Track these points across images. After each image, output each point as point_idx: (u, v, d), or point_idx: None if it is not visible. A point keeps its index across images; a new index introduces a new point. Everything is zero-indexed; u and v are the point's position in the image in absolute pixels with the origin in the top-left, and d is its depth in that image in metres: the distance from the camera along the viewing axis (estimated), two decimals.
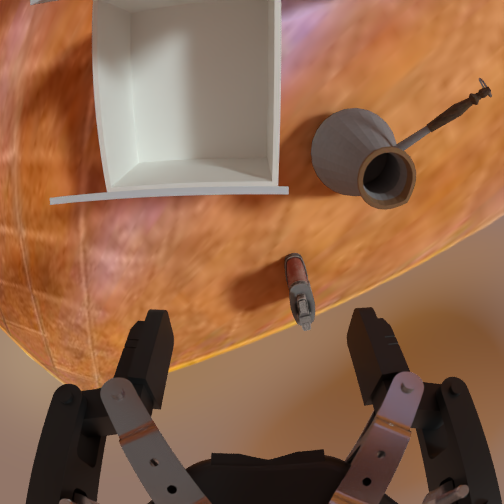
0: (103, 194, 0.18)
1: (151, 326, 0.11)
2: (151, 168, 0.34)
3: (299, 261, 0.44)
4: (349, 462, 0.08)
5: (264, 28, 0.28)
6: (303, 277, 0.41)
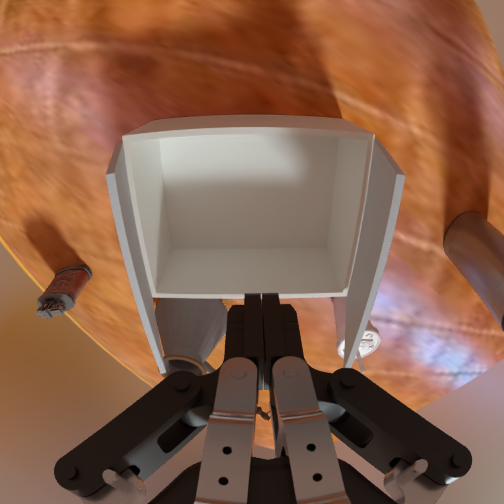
0: (127, 250, 0.17)
1: (253, 308, 0.12)
2: (151, 154, 0.30)
3: (86, 281, 0.42)
4: None
5: (297, 245, 0.40)
6: None
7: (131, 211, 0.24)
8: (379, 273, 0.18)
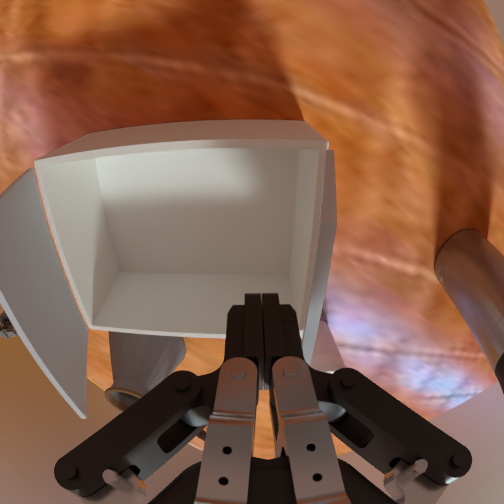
0: (7, 306, 0.12)
1: (253, 308, 0.12)
2: (81, 174, 0.25)
3: None
4: None
5: (255, 271, 0.35)
6: None
7: (42, 246, 0.19)
8: (306, 355, 0.13)
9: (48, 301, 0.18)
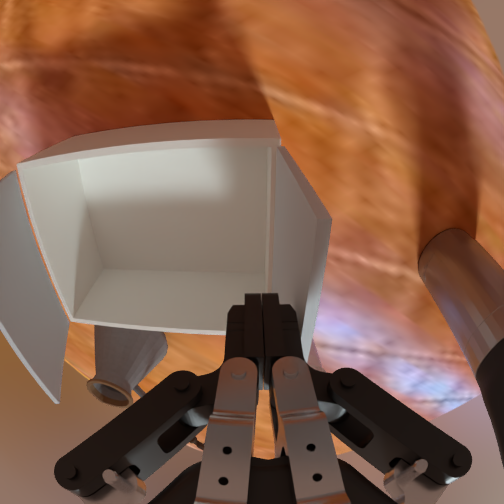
0: None
1: (253, 308, 0.12)
2: (63, 175, 0.26)
3: None
4: None
5: (231, 269, 0.36)
6: None
7: (23, 242, 0.20)
8: (304, 352, 0.13)
9: (26, 292, 0.19)
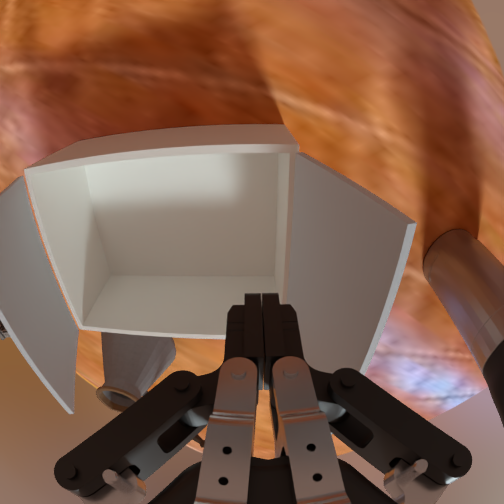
0: None
1: (253, 308, 0.12)
2: (70, 181, 0.26)
3: None
4: None
5: (240, 273, 0.36)
6: None
7: (32, 250, 0.20)
8: (374, 344, 0.13)
9: (37, 301, 0.19)
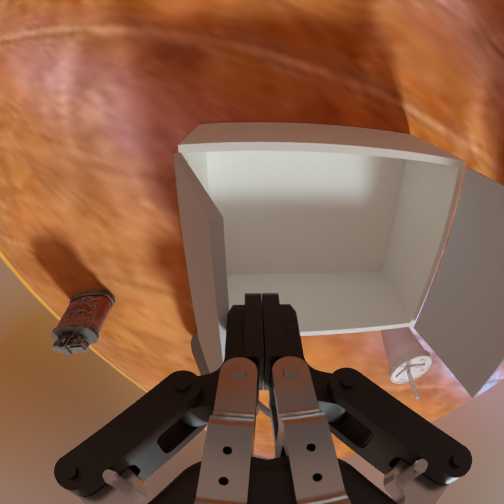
0: (226, 323, 0.13)
1: (253, 308, 0.12)
2: (202, 167, 0.26)
3: (109, 309, 0.37)
4: None
5: (353, 269, 0.36)
6: (100, 329, 0.34)
7: None
8: None
9: None
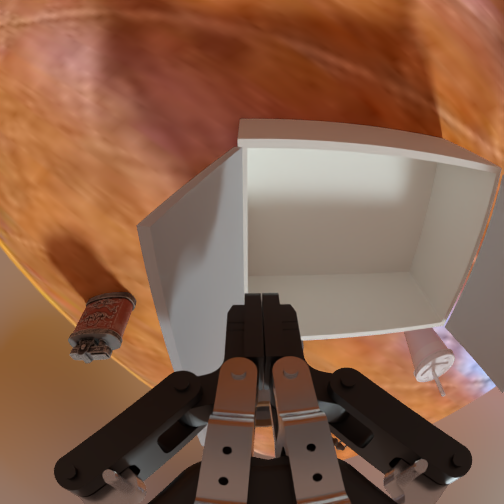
0: (171, 337, 0.11)
1: (253, 308, 0.12)
2: None
3: None
4: None
5: (384, 270, 0.35)
6: (122, 334, 0.33)
7: (232, 249, 0.18)
8: None
9: (220, 319, 0.18)
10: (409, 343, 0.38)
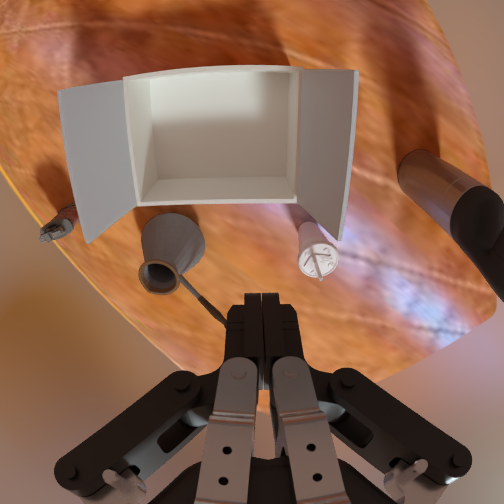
0: (65, 136, 0.24)
1: (253, 308, 0.12)
2: (143, 98, 0.37)
3: None
4: None
5: (261, 174, 0.47)
6: (75, 224, 0.46)
7: (114, 126, 0.31)
8: (352, 138, 0.25)
9: (102, 157, 0.30)
10: None
